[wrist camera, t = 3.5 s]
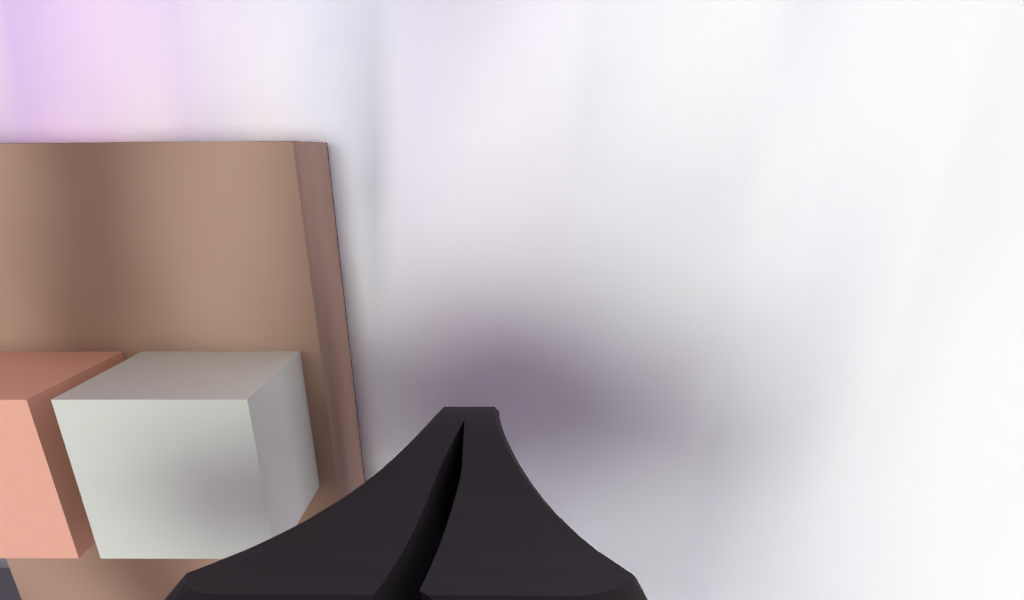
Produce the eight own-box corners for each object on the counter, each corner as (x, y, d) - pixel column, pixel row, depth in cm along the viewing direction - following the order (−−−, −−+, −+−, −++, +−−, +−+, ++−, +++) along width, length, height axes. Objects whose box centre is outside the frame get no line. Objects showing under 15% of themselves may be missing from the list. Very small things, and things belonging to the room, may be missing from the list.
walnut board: (326, 142, 13) (292, 140, 11) (374, 570, 17) (356, 624, 15) (-53, 145, 13) (-154, 144, 11) (86, 570, 17) (31, 623, 15)
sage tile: (300, 351, 12) (247, 399, 10) (319, 486, 13) (276, 558, 11) (141, 351, 12) (51, 399, 10) (174, 485, 13) (100, 558, 11)
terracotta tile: (122, 351, 12) (26, 399, 10) (157, 486, 13) (78, 558, 11) (-35, 351, 12) (-168, 399, 10) (13, 485, 13) (-95, 557, 11)
